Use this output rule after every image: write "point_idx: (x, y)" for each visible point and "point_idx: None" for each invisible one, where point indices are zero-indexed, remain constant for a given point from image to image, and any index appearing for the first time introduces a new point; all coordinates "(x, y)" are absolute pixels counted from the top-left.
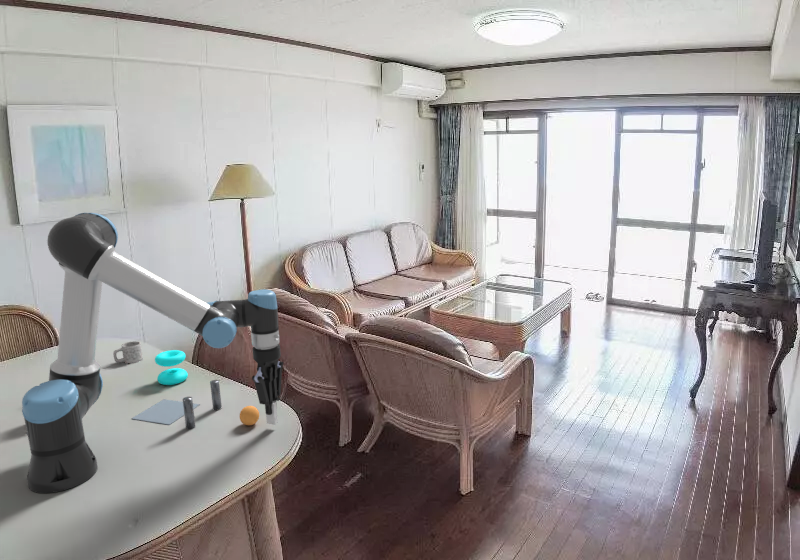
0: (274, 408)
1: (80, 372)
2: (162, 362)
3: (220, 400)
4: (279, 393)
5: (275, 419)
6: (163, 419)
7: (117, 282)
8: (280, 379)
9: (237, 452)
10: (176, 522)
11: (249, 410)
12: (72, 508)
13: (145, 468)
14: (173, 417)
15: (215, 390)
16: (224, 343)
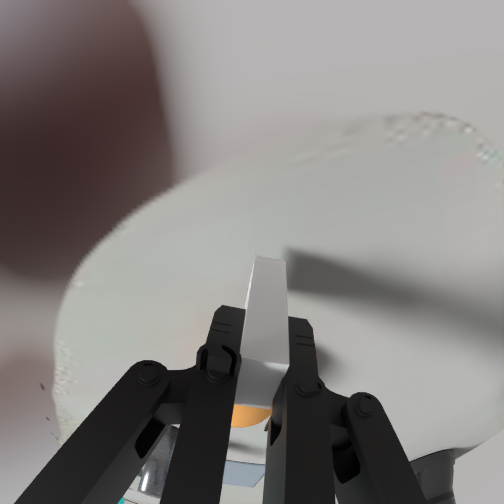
0: (276, 327)
1: None
2: (121, 501)
3: (159, 443)
4: (151, 381)
5: (276, 274)
6: (249, 472)
7: None
8: (58, 483)
9: (450, 320)
10: None
11: (257, 410)
12: (493, 423)
13: (440, 428)
14: (238, 467)
15: (163, 477)
16: None
